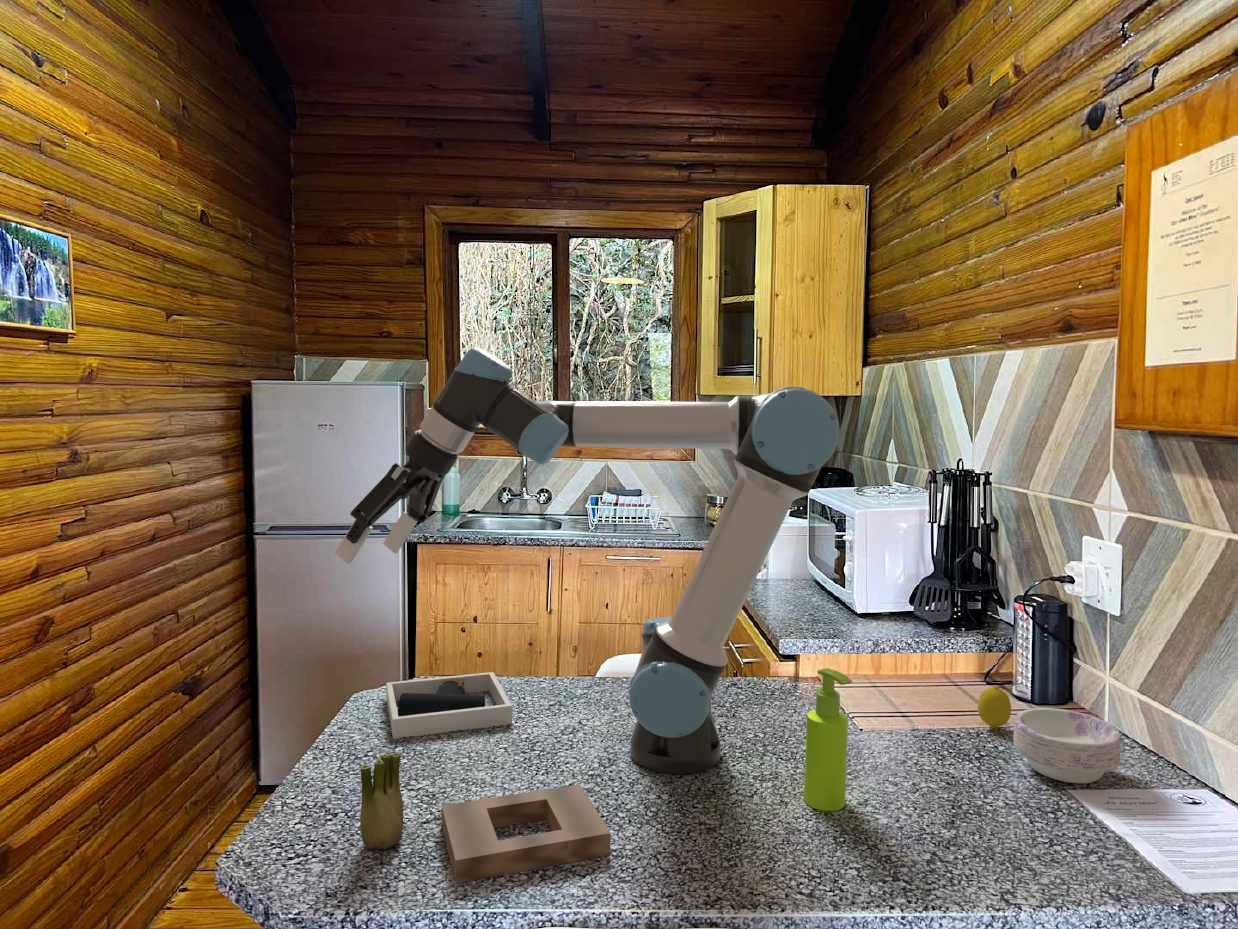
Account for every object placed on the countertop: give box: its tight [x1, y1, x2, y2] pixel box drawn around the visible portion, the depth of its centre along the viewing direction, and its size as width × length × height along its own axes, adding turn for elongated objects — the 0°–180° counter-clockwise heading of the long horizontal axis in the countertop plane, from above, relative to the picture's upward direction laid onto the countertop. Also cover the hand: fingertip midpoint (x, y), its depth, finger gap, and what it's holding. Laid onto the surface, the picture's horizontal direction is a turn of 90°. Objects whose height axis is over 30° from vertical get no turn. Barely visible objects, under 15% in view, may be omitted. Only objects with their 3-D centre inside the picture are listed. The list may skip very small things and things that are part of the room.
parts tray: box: [385, 671, 513, 740], centre depth 152 cm, size 21×19×4 cm
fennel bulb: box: [359, 752, 404, 850], centre depth 106 cm, size 6×5×12 cm
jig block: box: [441, 783, 611, 884], centre depth 108 cm, size 20×14×3 cm
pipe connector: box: [397, 679, 486, 717], centre depth 151 cm, size 12×5×15 cm
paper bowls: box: [1012, 707, 1122, 784], centre depth 130 cm, size 15×15×8 cm
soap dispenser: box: [803, 668, 853, 812], centre depth 118 cm, size 6×7×20 cm
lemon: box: [977, 685, 1012, 730], centre depth 147 cm, size 6×6×8 cm
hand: (367, 553), depth 125 cm, fingers open, 13 cm apart
